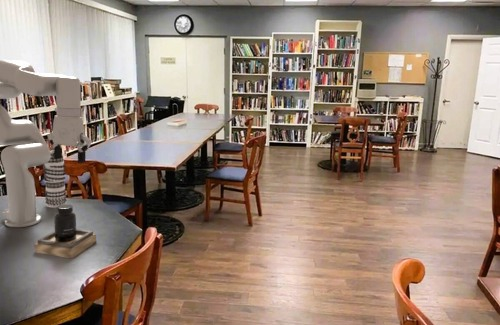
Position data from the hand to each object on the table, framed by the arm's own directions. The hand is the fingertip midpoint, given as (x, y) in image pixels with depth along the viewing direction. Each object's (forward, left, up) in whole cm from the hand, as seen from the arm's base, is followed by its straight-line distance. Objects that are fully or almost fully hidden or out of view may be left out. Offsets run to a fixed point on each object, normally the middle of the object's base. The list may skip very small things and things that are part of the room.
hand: (69, 160), depth 135 cm
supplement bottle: (+3, -7, -27) cm, 28 cm away
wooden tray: (+3, -8, -30) cm, 31 cm away
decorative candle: (-29, +28, -30) cm, 50 cm away
